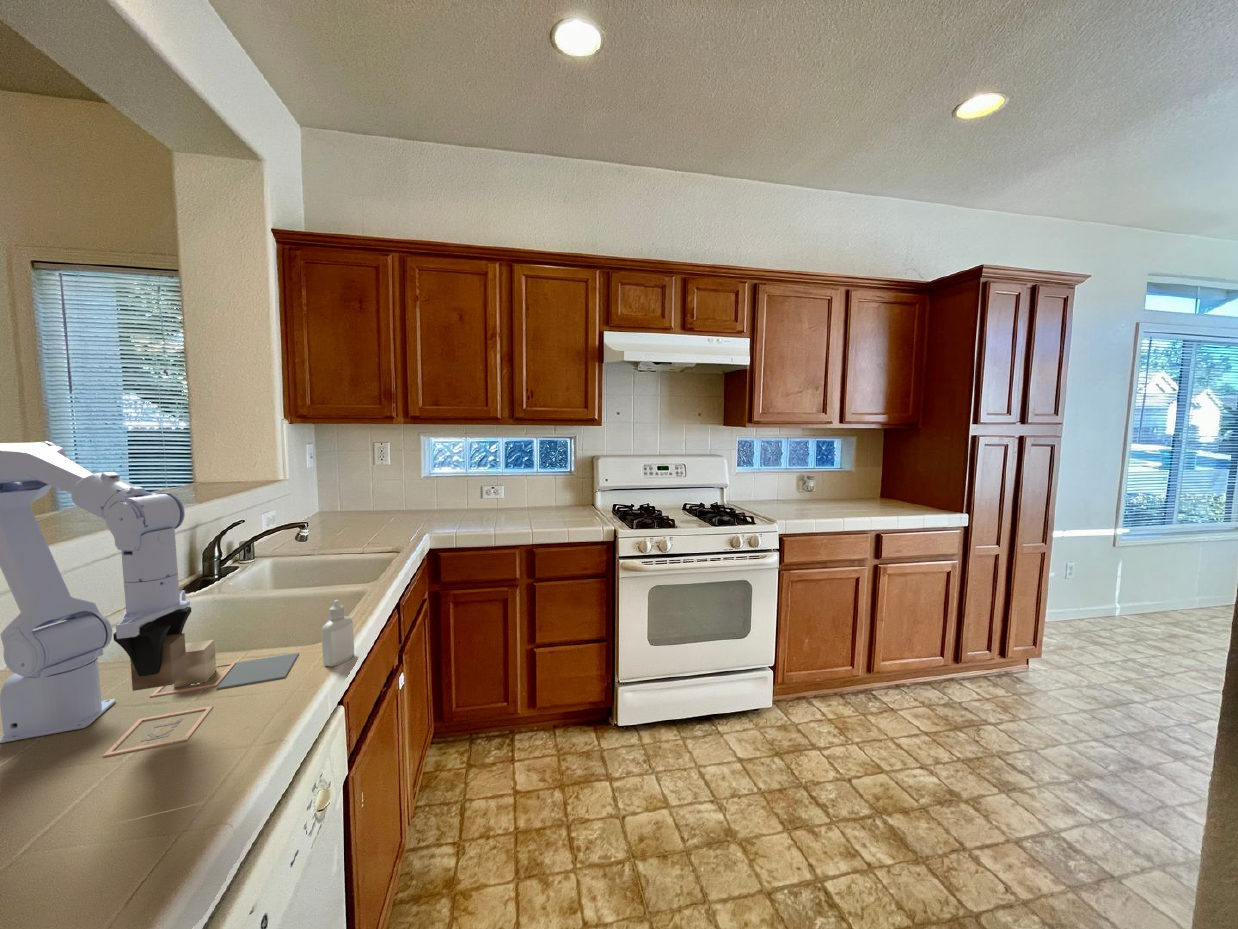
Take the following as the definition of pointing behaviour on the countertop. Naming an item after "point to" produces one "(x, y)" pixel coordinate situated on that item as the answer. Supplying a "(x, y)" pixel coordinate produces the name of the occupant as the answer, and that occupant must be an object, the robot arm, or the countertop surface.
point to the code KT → (188, 735)
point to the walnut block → (164, 665)
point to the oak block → (198, 663)
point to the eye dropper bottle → (337, 637)
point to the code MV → (156, 693)
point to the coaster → (259, 671)
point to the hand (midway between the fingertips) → (158, 666)
